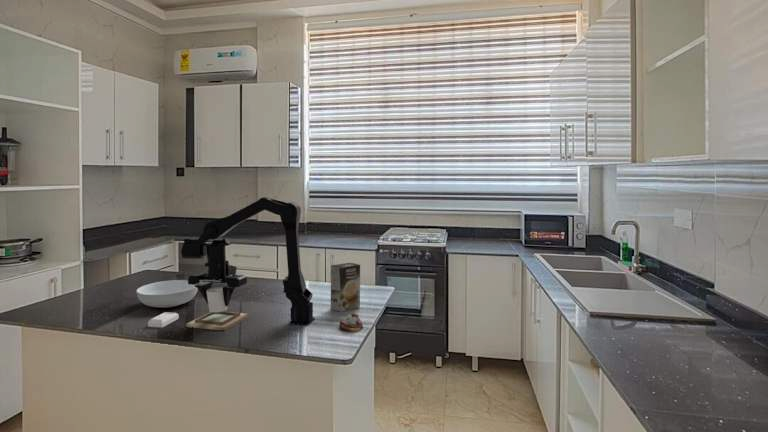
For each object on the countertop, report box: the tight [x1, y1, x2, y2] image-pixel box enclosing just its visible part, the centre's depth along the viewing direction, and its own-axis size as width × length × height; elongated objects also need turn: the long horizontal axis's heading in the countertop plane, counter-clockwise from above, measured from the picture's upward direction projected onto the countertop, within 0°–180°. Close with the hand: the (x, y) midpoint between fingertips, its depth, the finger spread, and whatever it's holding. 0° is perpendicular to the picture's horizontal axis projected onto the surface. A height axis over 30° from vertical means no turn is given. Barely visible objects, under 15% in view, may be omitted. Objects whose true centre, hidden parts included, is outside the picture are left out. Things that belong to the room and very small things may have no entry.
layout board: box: [185, 311, 249, 331], centre depth 147 cm, size 14×14×2 cm
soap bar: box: [147, 311, 180, 328], centre depth 146 cm, size 5×9×3 cm, turn 173°
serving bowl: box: [135, 279, 199, 309], centre depth 166 cm, size 21×21×7 cm
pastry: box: [339, 312, 364, 333], centre depth 142 cm, size 8×8×5 cm
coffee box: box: [330, 262, 361, 313], centre depth 162 cm, size 9×6×16 cm
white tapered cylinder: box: [206, 286, 228, 312], centre depth 146 cm, size 7×7×7 cm
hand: (218, 305), depth 147 cm, fingers closed on white tapered cylinder, 6 cm apart
